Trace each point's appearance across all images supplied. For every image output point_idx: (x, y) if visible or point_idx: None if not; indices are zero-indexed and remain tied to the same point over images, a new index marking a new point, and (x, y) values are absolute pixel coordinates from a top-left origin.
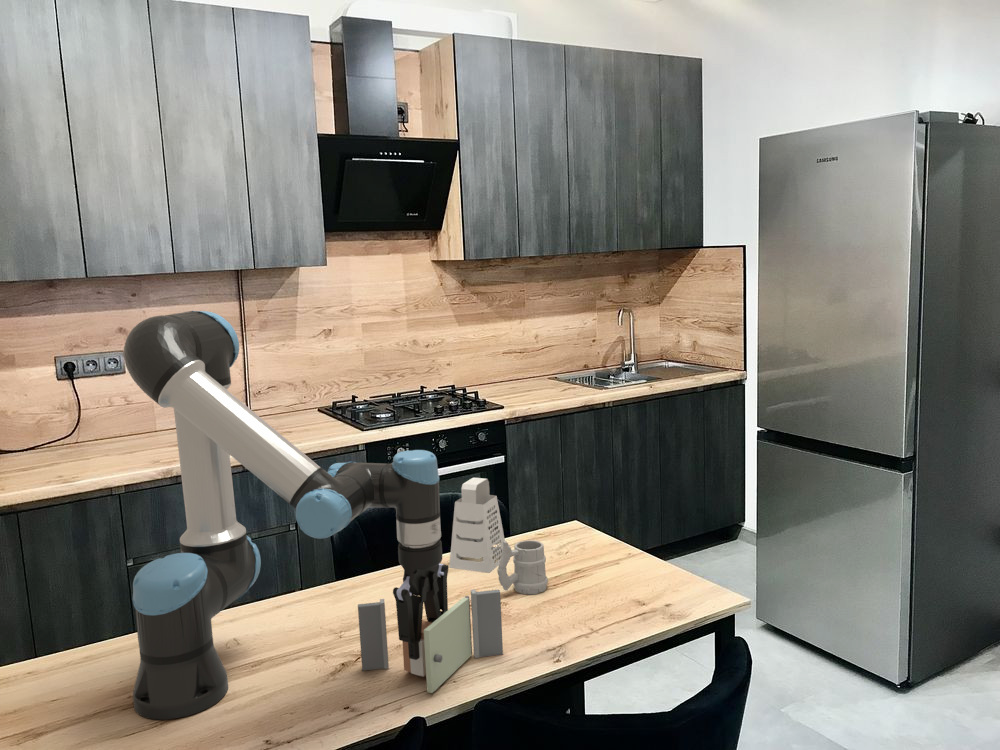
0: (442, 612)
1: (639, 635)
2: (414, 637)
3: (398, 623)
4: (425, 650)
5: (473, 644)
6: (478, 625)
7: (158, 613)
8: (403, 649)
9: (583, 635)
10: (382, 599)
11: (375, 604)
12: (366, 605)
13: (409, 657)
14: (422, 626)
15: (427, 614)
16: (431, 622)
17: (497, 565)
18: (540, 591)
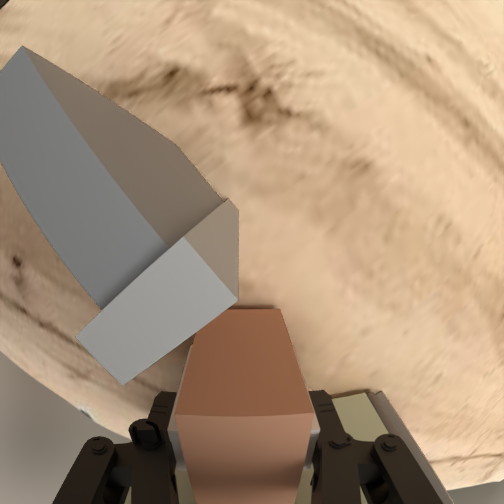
0: (366, 493)
1: (451, 488)
2: (129, 487)
3: (57, 499)
4: (126, 497)
5: (389, 409)
6: None
7: None
8: (192, 349)
9: (457, 459)
10: (201, 286)
11: (75, 242)
12: (14, 154)
13: (159, 394)
14: (243, 473)
15: (319, 485)
16: (298, 478)
17: None
18: None
